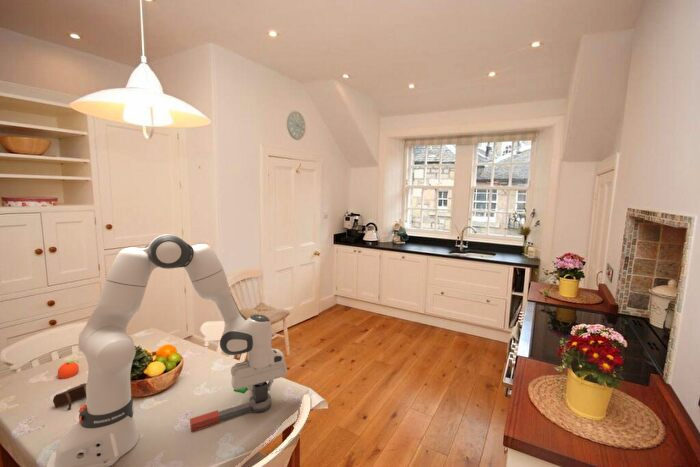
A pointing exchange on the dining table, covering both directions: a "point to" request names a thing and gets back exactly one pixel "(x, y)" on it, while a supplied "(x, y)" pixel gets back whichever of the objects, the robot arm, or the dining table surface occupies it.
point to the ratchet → (229, 413)
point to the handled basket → (69, 395)
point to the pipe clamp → (241, 390)
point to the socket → (260, 392)
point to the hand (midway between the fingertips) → (260, 392)
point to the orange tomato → (68, 370)
